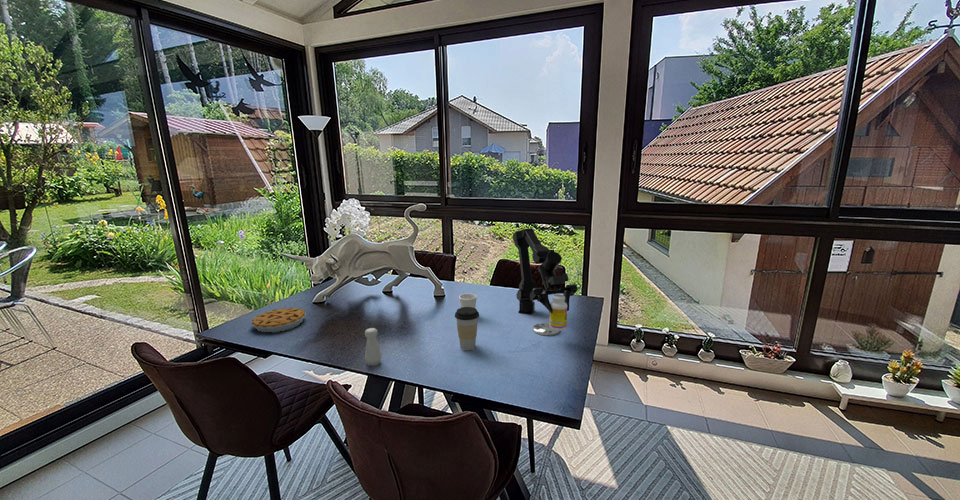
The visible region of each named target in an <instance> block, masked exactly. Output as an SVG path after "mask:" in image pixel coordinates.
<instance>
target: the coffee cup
mask: <svg viewBox="0 0 960 500" xmlns="http://www.w3.org/2000/svg"><path fill="white" fill-rule="evenodd" d="M454 318H455V319H456V328H457V335H458V340H459V347H460V349H461V350H463V351H472V350H474V349H476V343H477V342H476V339H477V331H478V324H479V323H478V319H479V318H480V313H479V311H478V309H477V308H476V307H475V308H473V307H462V308H461V307H459V308H457V309H456V312H455V313H454Z"/></svg>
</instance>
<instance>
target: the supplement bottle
mask: <svg viewBox="0 0 960 500" xmlns="http://www.w3.org/2000/svg"><path fill="white" fill-rule="evenodd" d="M552 300H553V301H551V302H550V304H551V307H552V311H553V312H552V313H550V312H549V323H550V324H549V326H550V328H551V329H554V330H559V331H564V330H566V329H567V326H568V325H567V323H568V311H567V304H566V303H565V302H564V301H565V296H563V294H553V296H552Z"/></svg>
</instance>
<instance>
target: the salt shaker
mask: <svg viewBox="0 0 960 500" xmlns="http://www.w3.org/2000/svg"><path fill="white" fill-rule="evenodd" d="M377 336H378V330H377V329H376V328H374V327H370V328H366V330H365V331H364V337H365V338H366V345H365V354H364V360H365V362H366V364H367V365H368V366H370V367H374V366H378V365H379V364H380V363H381V360H382V352H381V349H380V345H379V342H378V338H377Z"/></svg>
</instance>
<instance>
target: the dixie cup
mask: <svg viewBox="0 0 960 500" xmlns="http://www.w3.org/2000/svg"><path fill="white" fill-rule="evenodd" d="M477 297H478V295H476V294H474V293H462V294H460V295H459V296H458V299H459V303H460V308H462V307H473V308H476V307H477V306H476V305H477Z"/></svg>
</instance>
